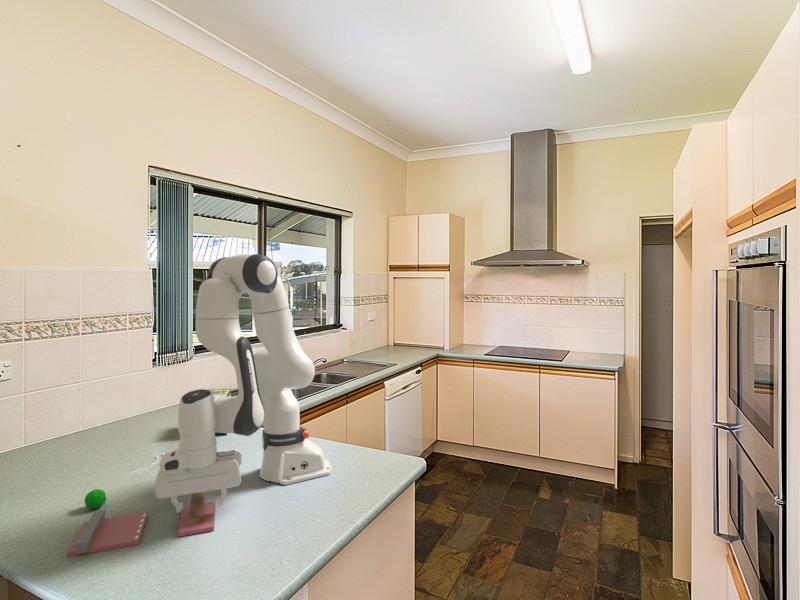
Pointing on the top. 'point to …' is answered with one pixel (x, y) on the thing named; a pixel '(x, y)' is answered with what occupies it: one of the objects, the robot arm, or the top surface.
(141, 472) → the scissors
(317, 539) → the top surface
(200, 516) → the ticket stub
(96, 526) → the ticket
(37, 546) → the top surface
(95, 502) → the polyhedron
